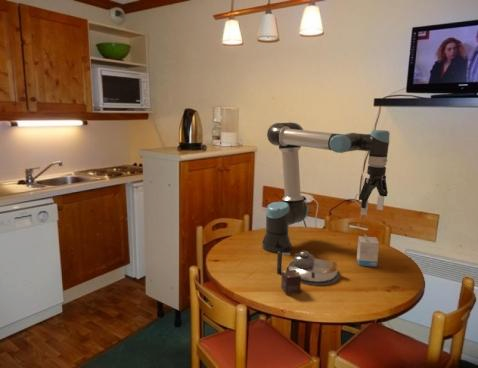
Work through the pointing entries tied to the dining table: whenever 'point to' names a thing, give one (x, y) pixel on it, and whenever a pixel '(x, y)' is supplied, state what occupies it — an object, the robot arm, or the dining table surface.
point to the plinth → (319, 283)
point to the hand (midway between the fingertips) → (371, 212)
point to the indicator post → (280, 261)
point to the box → (291, 282)
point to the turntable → (317, 271)
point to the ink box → (367, 251)
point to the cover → (304, 260)
